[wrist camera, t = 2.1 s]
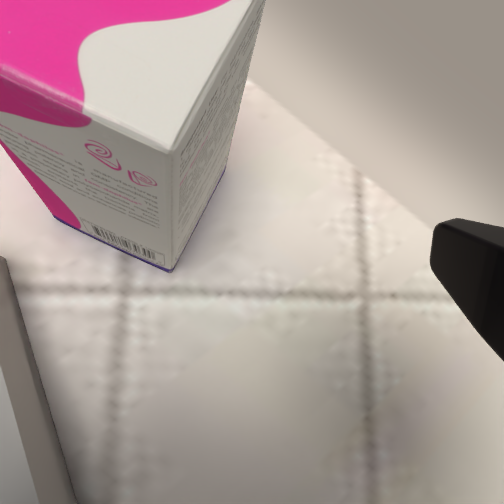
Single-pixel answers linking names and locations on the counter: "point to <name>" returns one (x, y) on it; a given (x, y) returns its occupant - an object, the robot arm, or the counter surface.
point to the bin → (25, 417)
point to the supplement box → (125, 111)
